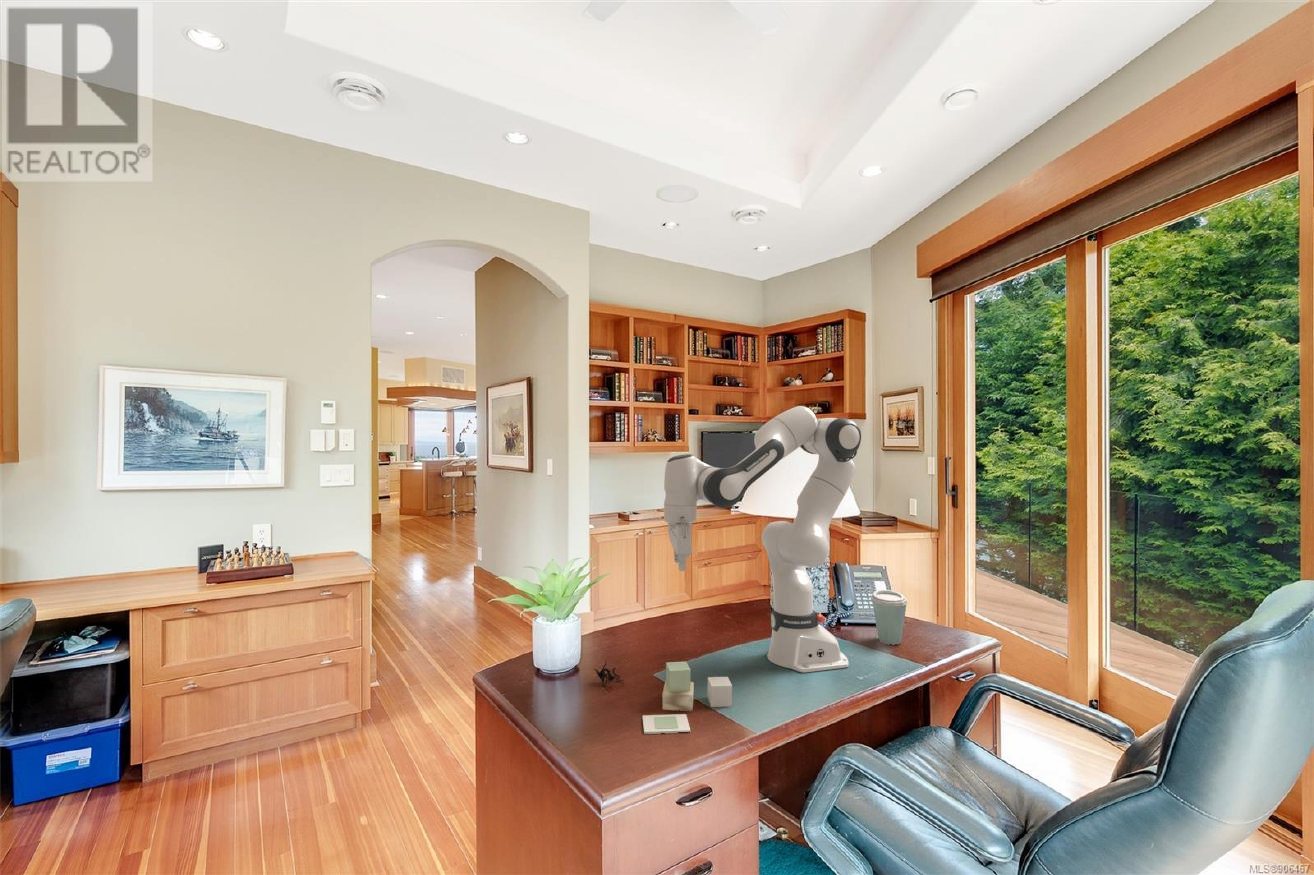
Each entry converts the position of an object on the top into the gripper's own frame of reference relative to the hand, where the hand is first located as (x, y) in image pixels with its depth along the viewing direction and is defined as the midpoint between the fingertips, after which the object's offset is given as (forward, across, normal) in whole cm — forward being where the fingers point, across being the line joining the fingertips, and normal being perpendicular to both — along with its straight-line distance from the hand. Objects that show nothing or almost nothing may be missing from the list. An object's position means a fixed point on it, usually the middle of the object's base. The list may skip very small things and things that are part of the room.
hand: (679, 566), depth 149 cm
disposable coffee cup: (+29, +20, -69) cm, 78 cm away
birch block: (+29, -16, +2) cm, 34 cm away
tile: (+29, -26, +6) cm, 39 cm away
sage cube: (+25, -16, +2) cm, 30 cm away
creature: (+30, -5, +18) cm, 35 cm away
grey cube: (+29, -16, -8) cm, 34 cm away
